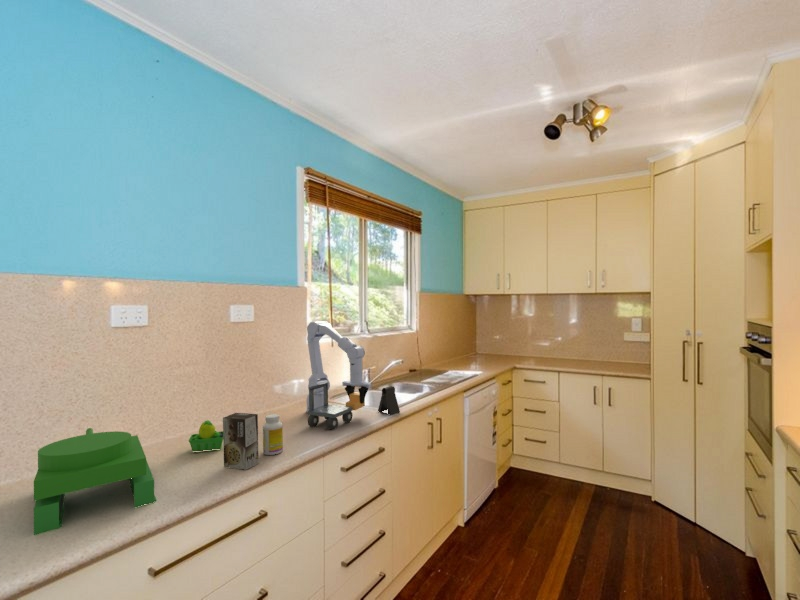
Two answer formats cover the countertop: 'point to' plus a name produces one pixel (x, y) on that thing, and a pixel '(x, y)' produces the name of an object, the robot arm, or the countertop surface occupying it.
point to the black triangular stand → (389, 401)
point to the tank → (87, 472)
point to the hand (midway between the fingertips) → (357, 402)
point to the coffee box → (240, 440)
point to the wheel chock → (355, 401)
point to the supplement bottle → (272, 435)
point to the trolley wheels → (329, 420)
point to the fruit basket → (206, 438)
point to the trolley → (325, 404)
